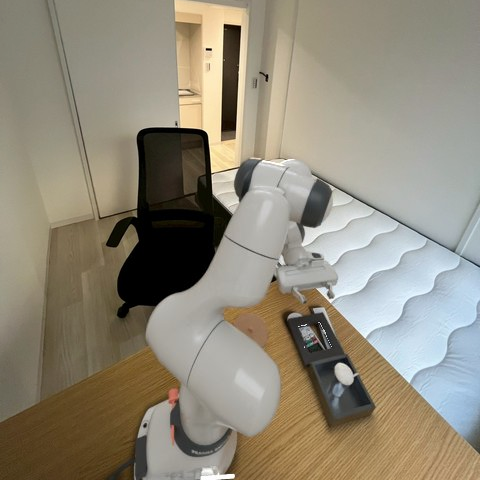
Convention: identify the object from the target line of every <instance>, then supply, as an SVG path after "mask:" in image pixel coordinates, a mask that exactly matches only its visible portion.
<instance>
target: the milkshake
mask: <svg viewBox="0 0 480 480" xmlns="http://www.w3.org/2000/svg"><path fill="white" fill-rule="evenodd" d="M358 374H359V375H360V372H359V371H357V373H356V374H354V375H353V373H352V371H351V369H350V368H349V367H348V366H347V365H345V364H343V363H338V364H337V365H336V366H335V369H334V374H333V378H332V381H331V386H330V389H331V391H332V393H333V394H334V395H335V396H336V397H341V396H342V395H343V394H344V392H345V391H346V390H347V389H348V387H349V386H350V385H351V384H352V383H353V380H354V377H355V376H356V375H358Z"/></svg>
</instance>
